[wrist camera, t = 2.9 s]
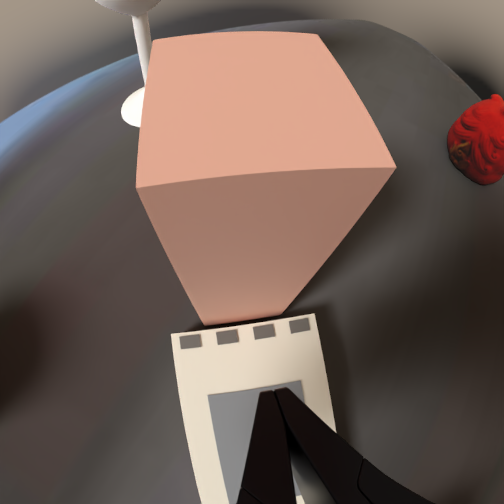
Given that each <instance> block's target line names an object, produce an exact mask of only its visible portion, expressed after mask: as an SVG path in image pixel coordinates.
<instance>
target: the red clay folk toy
mask: <svg viewBox="0 0 504 504" xmlns="http://www.w3.org/2000/svg"><path fill="white" fill-rule="evenodd" d="M447 144H448V151H449V157H450V159H451V161H452V162H453V164H454V165H455V167H456V168H458V169H459V170H460V171H461V172H462V173H463V174H464V175H465V176H466V177H468V178H470V179H471V180H472V181H474V182H476V183H478V184H480V185H485V184H490V183H495V182H497V181H498V180H500V179H501V177H502V175H503V174H504V101H503V99H502V98H501V97H500V96H499V95H497V94H493V95H492V96H491V97H490V99H487V100H483V101H481V102H478V103H476V104H474V105H472V106H471V107H470V108H468V109H467V110H465V111H464V113H463V114H462V115H461V116H460V117H459V118H458V120H456V121H455V123H454V124H453V125H452V126H451V128H450V130H449V132H448V139H447Z"/></svg>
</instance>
